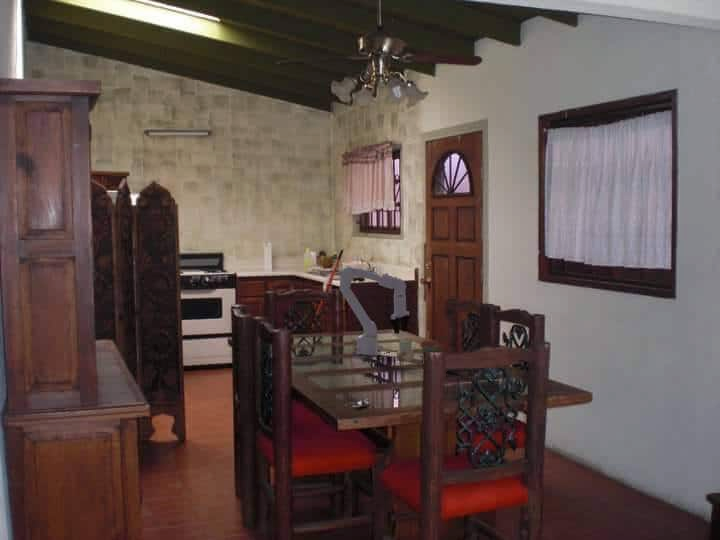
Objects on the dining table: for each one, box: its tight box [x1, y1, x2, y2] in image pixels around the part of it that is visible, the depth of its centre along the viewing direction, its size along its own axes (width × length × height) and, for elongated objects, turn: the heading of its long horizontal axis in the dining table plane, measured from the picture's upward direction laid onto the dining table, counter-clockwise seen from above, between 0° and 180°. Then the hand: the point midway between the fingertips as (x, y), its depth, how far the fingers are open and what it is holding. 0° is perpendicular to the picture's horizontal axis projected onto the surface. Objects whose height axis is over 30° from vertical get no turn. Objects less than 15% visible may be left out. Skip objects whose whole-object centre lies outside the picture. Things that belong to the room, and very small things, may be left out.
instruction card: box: [376, 351, 398, 358], centre depth 375 cm, size 12×9×1 cm
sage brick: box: [398, 339, 413, 352], centre depth 362 cm, size 4×4×5 cm
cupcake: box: [419, 331, 439, 352], centre depth 374 cm, size 9×8×12 cm
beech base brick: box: [396, 350, 415, 362], centre depth 363 cm, size 6×6×4 cm
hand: (400, 332), depth 376 cm, fingers open, 7 cm apart
